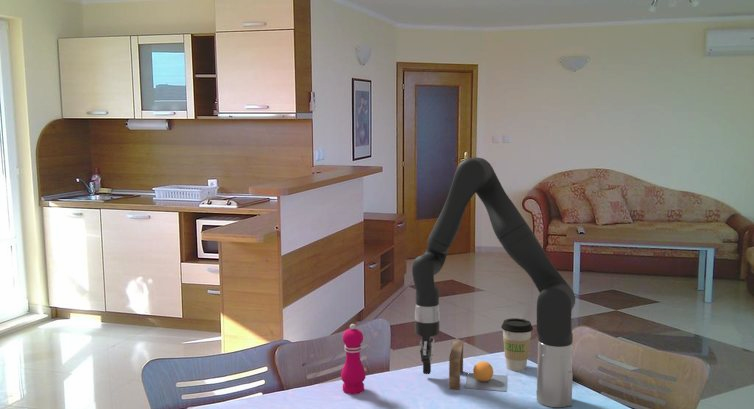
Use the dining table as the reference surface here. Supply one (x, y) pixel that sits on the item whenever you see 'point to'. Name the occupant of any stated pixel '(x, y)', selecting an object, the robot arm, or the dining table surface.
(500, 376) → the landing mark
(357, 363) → the pepper mill
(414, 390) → the dining table surface
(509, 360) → the coffee cup
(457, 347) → the bridge
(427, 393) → the dining table surface
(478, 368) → the ball
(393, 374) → the dining table surface
